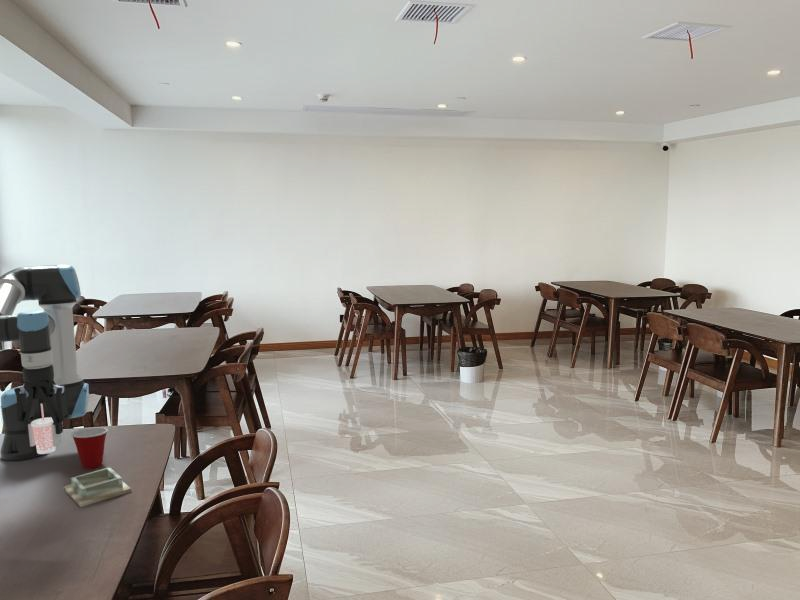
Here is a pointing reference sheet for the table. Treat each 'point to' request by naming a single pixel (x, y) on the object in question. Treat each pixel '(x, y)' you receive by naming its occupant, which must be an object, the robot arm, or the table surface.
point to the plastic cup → (90, 446)
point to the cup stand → (96, 486)
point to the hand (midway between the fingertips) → (46, 444)
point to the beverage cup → (43, 434)
